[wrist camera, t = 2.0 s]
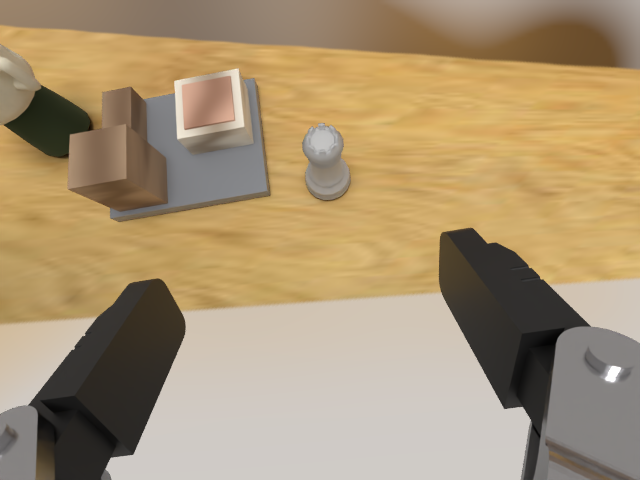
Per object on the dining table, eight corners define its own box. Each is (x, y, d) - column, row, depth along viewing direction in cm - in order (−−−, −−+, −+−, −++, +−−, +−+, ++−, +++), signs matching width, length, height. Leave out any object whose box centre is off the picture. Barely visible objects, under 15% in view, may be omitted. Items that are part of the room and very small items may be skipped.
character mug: (121, 110, 35) (-4, -2, 23) (102, 168, 34) (-43, 83, 21) (37, 101, 37) (-127, -8, 24) (15, 157, 35) (-171, 71, 23)
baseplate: (118, 221, 32) (110, 218, 31) (119, 112, 35) (111, 105, 34) (270, 195, 32) (267, 190, 30) (257, 86, 35) (254, 78, 33)
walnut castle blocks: (119, 211, 31) (67, 189, 25) (119, 108, 34) (72, 65, 28) (167, 203, 31) (126, 178, 25) (164, 99, 34) (125, 55, 28)
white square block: (192, 154, 32) (176, 138, 29) (189, 101, 33) (173, 79, 30) (253, 143, 32) (243, 125, 29) (247, 89, 33) (237, 66, 30)
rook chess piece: (359, 184, 31) (363, 142, 23) (323, 210, 31) (314, 176, 23) (333, 152, 32) (328, 101, 24) (297, 177, 32) (281, 133, 24)
